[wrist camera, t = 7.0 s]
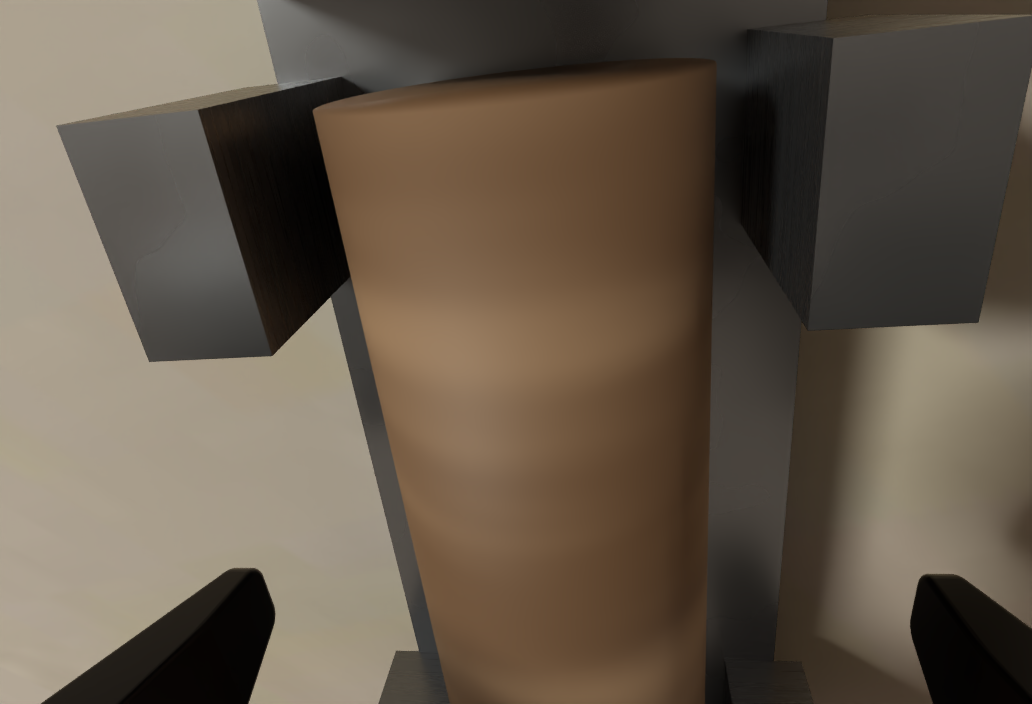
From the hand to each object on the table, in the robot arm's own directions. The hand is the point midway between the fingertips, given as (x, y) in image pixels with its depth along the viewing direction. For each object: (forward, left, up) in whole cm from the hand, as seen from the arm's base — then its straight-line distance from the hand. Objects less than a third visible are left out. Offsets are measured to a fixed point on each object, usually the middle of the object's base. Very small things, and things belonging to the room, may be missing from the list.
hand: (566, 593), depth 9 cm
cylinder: (0, 0, -2) cm, 2 cm away
